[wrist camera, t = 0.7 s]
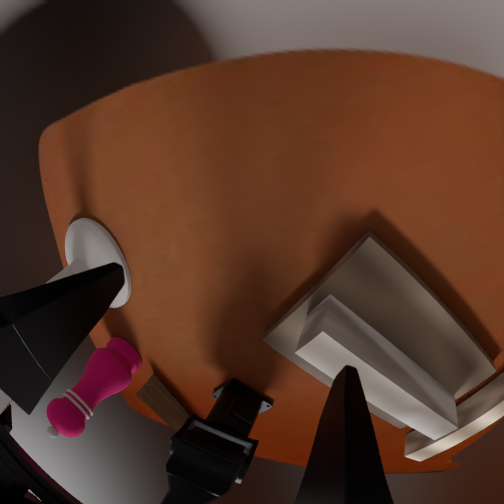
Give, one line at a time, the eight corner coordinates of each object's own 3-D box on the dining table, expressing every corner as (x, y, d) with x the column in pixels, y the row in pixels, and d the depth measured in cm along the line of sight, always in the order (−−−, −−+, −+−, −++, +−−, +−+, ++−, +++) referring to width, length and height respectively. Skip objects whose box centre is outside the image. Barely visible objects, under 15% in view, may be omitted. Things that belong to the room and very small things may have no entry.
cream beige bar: (420, 439, 28) (419, 461, 24) (405, 433, 28) (404, 456, 25) (521, 372, 18) (529, 395, 15) (512, 361, 18) (521, 386, 15)
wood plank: (148, 372, 40) (132, 393, 36) (156, 372, 39) (139, 394, 35) (198, 427, 44) (186, 447, 40) (206, 428, 43) (194, 448, 39)
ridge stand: (400, 419, 27) (398, 458, 21) (266, 330, 27) (244, 374, 22) (493, 361, 19) (505, 403, 14) (368, 229, 19) (372, 266, 14)
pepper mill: (115, 355, 42) (44, 431, 25) (106, 326, 38) (22, 407, 21) (147, 374, 40) (77, 460, 23) (141, 346, 37) (55, 441, 20)
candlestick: (140, 257, 29) (-69, 440, 3) (124, 321, 35) (-14, 463, 10) (72, 199, 29) (-116, 317, 4) (67, 268, 36) (-69, 377, 11)
